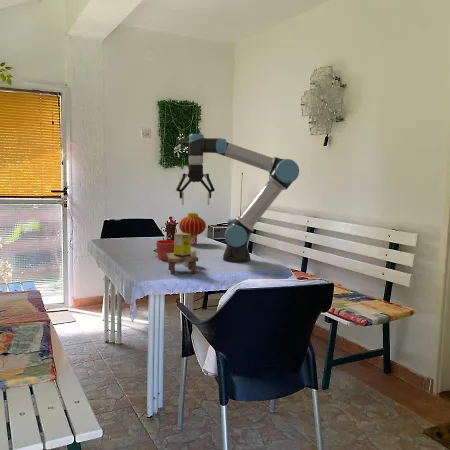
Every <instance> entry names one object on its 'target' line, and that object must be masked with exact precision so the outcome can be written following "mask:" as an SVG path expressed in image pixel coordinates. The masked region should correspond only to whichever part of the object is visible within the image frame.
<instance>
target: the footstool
mask: <svg viewBox="0 0 450 450" xmlns="http://www.w3.org/2000/svg"><path fill="white" fill-rule="evenodd" d="M166 256H167V258H168V260H167V261H168V270H170V275H172V274H174V275H175V274H176V270H175V269H176V263H182V262H183V263H185V262H188V267H187V268H188V270H190V271H191V272H190V274H192V275H196V267H197V262H199V257H198V256H197V254H196V255H195V253H191V255H190V256H185V257H180V256H175V255H174V253H166ZM195 266H196V267H195Z"/></svg>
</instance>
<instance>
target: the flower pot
mask: <svg viewBox="0 0 450 450" xmlns="http://www.w3.org/2000/svg"><path fill="white" fill-rule="evenodd" d="M155 243H156V250H157V257H158V258H157V259H158V260H160V261H161V260H162V261H169V260H168V258H167V256H166V253H174V240H169V239H159V240H156V241H155Z"/></svg>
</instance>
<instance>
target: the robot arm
mask: <svg viewBox="0 0 450 450" xmlns="http://www.w3.org/2000/svg"><path fill="white" fill-rule="evenodd" d="M188 137H189V138H188V173H185V172H183V173H182V175H181V178H180V180H179V182H178V184H177V186H176V189H175V190H176V192H178V194H179V199H180V200H181V204H180V205H182V206H184V203H185V202H184V201H185V192H184V190H186V188H187V187H188V186H190V185H189V184H190V183H201V184H202V186H204V188H205V190H207V192H206V205H207V206H209V205H210V199H212V192H215V187H214V185H213V182H212V181H211V179H210V173H204V165H203V164H204V154H207V153H209V154H217V155H220V156H224V157H226V158H228V159H232V160H236V161H238V162H241V163H243V164H246V165H249V166H251V167H255V168H258V169H261V170H263V171H266V172H267V173H268V180H267V181H266V184H264V186H263V187H262V188H261V189H260V191H259V192H258V193H257V195H256V196H255V197H254V199H253V200H252V201H251V203H250V204H249V205H248V206H247V207H246V209H245V210H244V211H243V213H242V214H241V215H239V216H235V217H234V218H229V219H227V223H226V225H227V228H226V229H225V230H224V239H225V242H226V246H225V248H224V249H225V250H224V251H223V252H224V253H223V255H222V259H223V261H225V262H228V263H229V262H230V263H248V262H250V261H251V254H250V251H249V247H248V246H249V245H248V242H249V237H251V234H252V233H254V231H255V229H254V227H255V225H256V223H257V222H258V221H259V220H260V219H261V217H262V216H263V215H264V214H265V213H266V211H267V210H268V209H269V208H270V206H272V204H273V202H274V201H275V200H276V199H277V197H278V196H279V195H281V192H282V191H286V190H288V189H289V187H290V186H291V184H293V182H295V181H296V180H297V179H298V177H299V176H300V167H299V165H298V162H296V161H294V160H293V159H290V158H280V157H277V156H274V157H271V156H268V155H266V154H263V153H259V152H257V151H254V150H251V149H248V148H245V147H242V146H241V145H237V144H234V143H231V142H228V141H227V139H226V138H220V137H219V138H215V137H214V138H212V137H211V138H210V137H209V138H208V137H205V136H204V134H202V133H191V134H189V136H188ZM187 177H188V179H187V181H186V182H185V178H187ZM203 178H205V179H206V181H207V183H208V185H207V183H206V182H205V181H204V179H203ZM184 182H185V183H184ZM182 185H183V186H182Z"/></svg>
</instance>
